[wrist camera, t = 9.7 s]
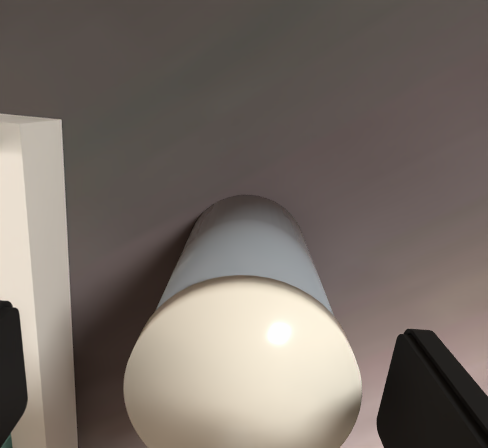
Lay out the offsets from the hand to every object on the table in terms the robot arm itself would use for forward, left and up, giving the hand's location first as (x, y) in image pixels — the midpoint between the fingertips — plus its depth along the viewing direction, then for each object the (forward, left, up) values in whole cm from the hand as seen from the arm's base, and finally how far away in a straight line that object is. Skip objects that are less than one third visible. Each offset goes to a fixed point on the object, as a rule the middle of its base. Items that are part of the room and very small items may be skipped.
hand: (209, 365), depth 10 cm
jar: (-1, 0, -8) cm, 8 cm away
